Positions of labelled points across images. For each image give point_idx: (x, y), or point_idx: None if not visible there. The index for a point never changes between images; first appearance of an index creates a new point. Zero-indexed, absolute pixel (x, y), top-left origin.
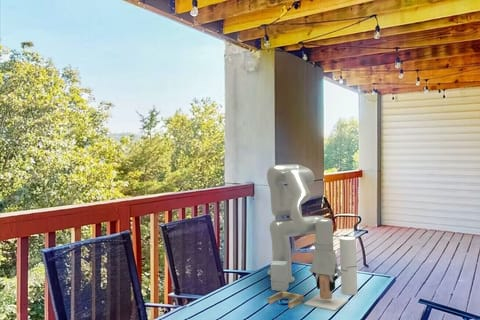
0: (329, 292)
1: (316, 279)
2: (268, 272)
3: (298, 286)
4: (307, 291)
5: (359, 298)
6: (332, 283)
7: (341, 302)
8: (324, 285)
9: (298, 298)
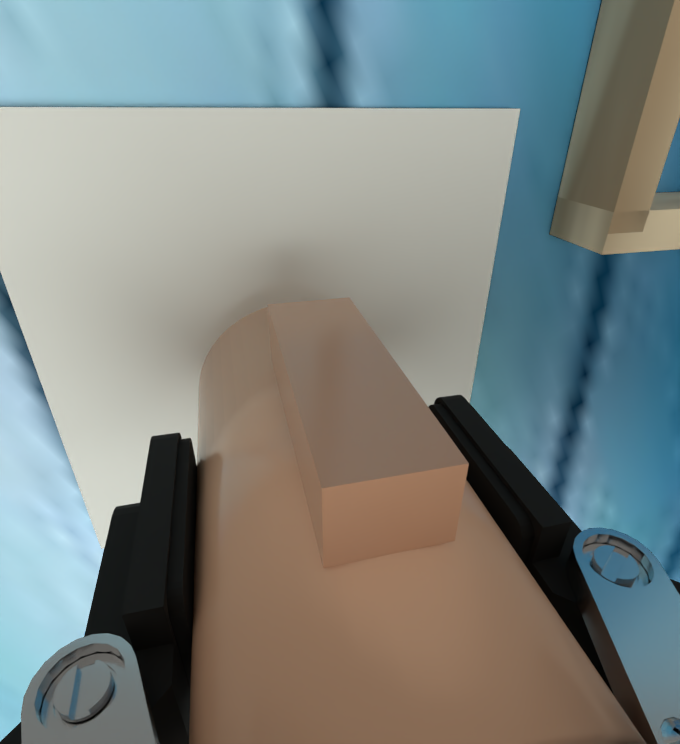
0: (206, 415)
1: (589, 529)
2: None
3: (664, 523)
4: (574, 487)
5: (69, 642)
6: (121, 608)
7: (103, 442)
8: (292, 437)
9: (648, 83)
